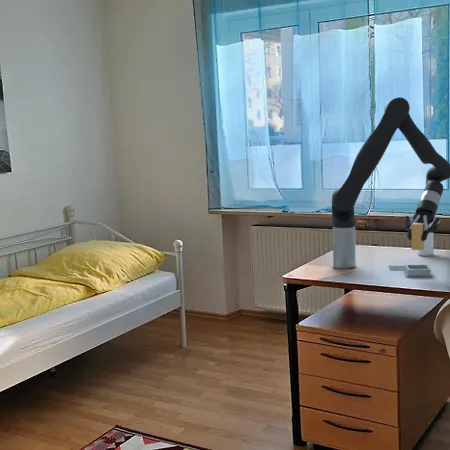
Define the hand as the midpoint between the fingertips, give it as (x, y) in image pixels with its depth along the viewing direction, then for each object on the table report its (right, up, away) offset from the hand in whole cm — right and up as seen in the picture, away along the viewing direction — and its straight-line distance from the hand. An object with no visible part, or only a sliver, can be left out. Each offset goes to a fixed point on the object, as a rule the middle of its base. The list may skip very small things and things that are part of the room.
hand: (416, 239), depth 248 cm
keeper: (+2, -14, +4) cm, 15 cm away
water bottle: (+16, -8, +41) cm, 45 cm away
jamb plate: (0, -12, +15) cm, 19 cm away
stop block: (+1, -4, +2) cm, 5 cm away
